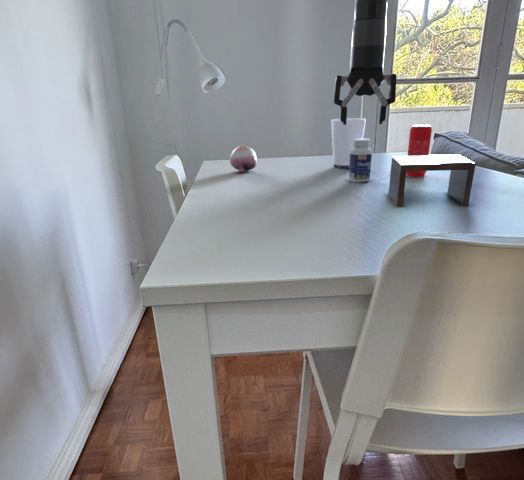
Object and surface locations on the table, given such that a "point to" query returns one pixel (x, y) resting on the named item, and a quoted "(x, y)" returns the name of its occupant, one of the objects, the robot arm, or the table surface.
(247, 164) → the onion
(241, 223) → the table surface
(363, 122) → the cup
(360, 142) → the pill bottle
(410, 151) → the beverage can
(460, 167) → the shelf
